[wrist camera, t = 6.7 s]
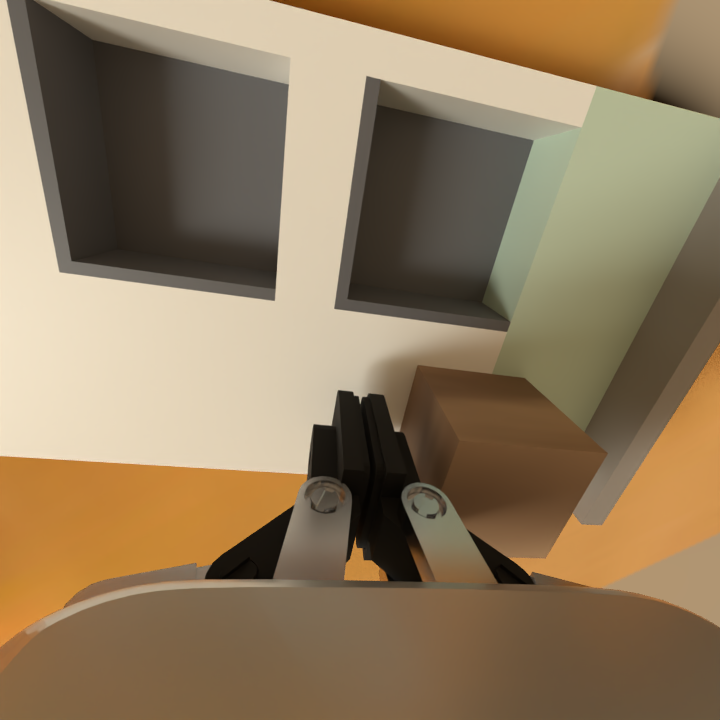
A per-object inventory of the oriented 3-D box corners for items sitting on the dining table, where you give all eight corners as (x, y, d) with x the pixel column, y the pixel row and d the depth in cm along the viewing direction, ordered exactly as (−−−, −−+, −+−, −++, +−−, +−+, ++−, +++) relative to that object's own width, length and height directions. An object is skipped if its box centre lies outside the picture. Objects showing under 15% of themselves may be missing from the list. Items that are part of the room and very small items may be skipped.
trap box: (-133, -54, 9) (-552, -283, 5) (683, 145, 13) (863, 119, 9) (8, 407, 16) (-121, 494, 11) (538, 449, 20) (601, 525, 15)
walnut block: (417, 364, 13) (459, 440, 9) (524, 378, 14) (607, 453, 10) (392, 457, 15) (418, 554, 11) (488, 464, 16) (545, 558, 12)
